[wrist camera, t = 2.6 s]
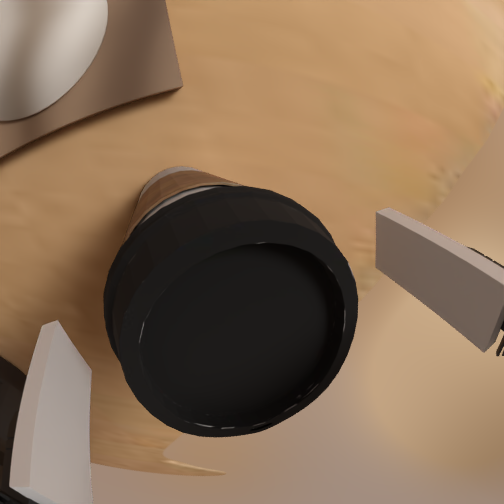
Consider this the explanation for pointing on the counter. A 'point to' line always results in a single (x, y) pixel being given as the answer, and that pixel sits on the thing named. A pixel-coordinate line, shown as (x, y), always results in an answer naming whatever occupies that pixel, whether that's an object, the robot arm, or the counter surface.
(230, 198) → the coffee cup
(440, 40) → the counter surface
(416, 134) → the counter surface
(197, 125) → the counter surface
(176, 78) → the board
